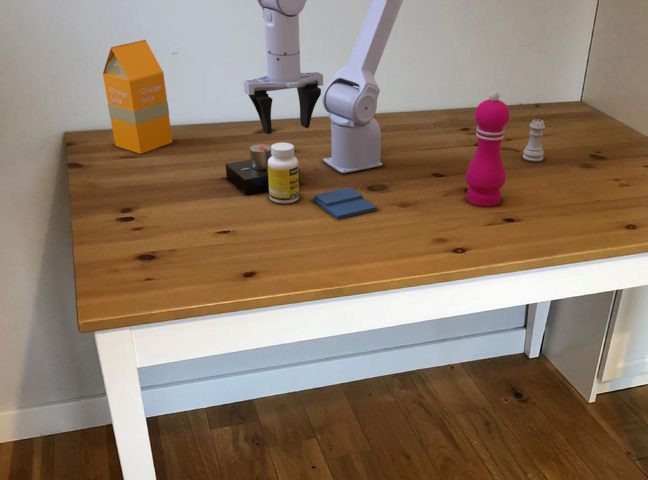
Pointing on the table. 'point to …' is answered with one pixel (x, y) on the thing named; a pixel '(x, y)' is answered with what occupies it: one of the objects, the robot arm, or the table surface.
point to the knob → (260, 156)
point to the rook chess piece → (534, 143)
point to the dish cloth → (343, 203)
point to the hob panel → (247, 177)
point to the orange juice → (137, 98)
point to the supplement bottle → (283, 174)
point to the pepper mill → (488, 153)
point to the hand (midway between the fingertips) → (286, 129)
